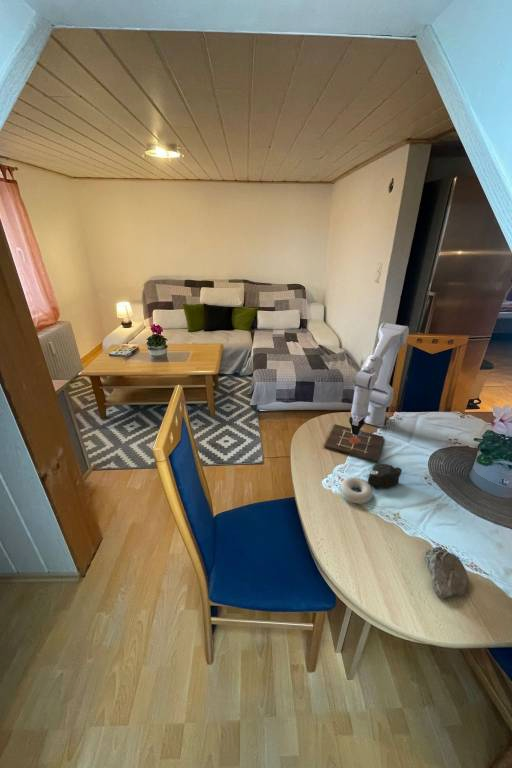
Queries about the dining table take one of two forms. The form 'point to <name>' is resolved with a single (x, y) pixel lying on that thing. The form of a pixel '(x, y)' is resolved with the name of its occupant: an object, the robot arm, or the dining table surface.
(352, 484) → the donut
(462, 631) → the dining table surface
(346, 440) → the board
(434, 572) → the brown rock
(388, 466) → the mineral
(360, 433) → the alphabet block
